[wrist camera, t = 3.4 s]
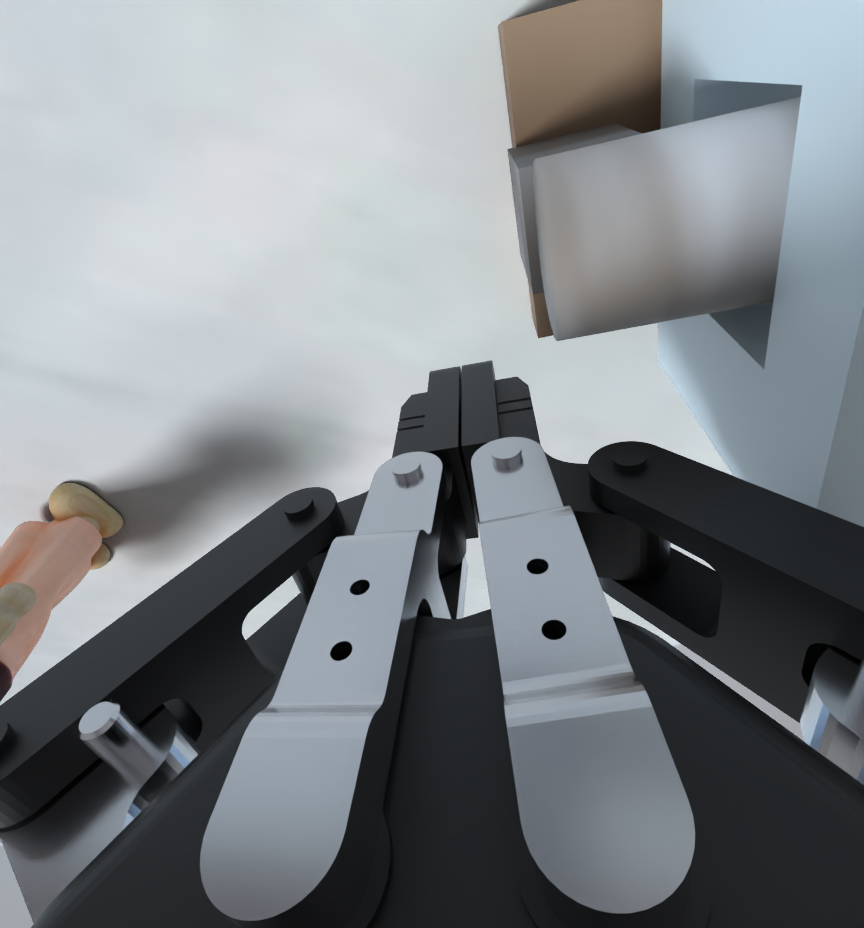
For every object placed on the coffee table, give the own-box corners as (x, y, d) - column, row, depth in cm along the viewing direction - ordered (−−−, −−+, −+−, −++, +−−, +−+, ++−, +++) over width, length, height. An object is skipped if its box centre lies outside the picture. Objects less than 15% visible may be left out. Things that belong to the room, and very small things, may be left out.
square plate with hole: (664, -97, 10) (1020, -384, 4) (784, -133, 10) (1414, -519, 3) (657, 360, 15) (801, 577, 9) (736, 347, 15) (945, 562, 8)
